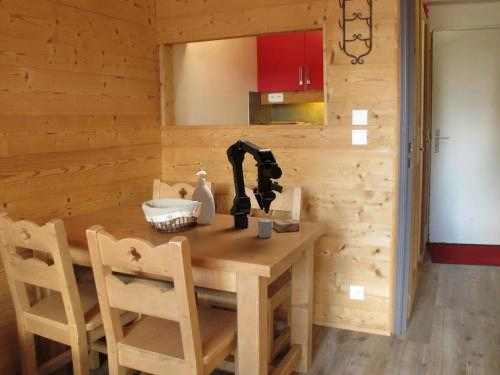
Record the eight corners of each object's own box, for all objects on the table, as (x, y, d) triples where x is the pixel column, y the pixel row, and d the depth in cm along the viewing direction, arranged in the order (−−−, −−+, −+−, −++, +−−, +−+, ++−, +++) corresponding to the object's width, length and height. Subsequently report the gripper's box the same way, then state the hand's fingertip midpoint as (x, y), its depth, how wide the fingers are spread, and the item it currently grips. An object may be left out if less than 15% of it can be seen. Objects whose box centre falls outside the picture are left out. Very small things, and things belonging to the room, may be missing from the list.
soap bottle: (186, 223, 255) (184, 171, 251) (196, 220, 261) (194, 169, 258) (208, 226, 247) (206, 172, 243) (218, 223, 253) (217, 170, 250)
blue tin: (260, 237, 222) (260, 222, 221) (258, 235, 227) (257, 220, 226) (271, 236, 223) (271, 221, 222) (268, 234, 228) (268, 219, 227)
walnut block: (279, 233, 232) (279, 224, 231) (273, 228, 241) (272, 220, 241) (299, 231, 234) (299, 223, 234) (292, 227, 244) (292, 219, 243)
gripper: (287, 179, 214) (287, 214, 217) (275, 174, 232) (276, 207, 235) (262, 180, 212) (262, 216, 214) (252, 175, 230) (253, 208, 232)
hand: (264, 211), depth 224 cm, fingers open, 9 cm apart
